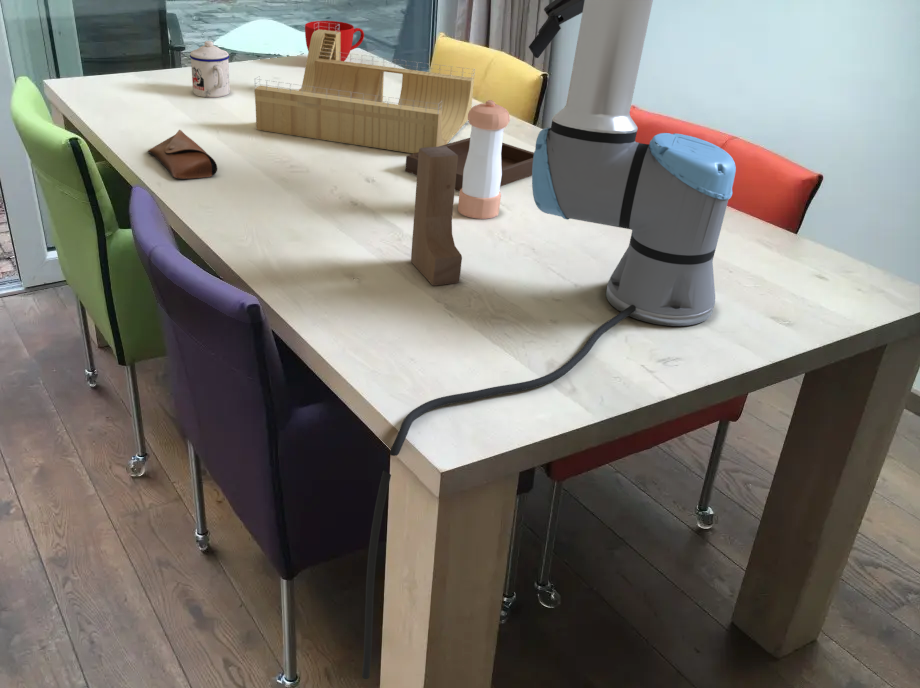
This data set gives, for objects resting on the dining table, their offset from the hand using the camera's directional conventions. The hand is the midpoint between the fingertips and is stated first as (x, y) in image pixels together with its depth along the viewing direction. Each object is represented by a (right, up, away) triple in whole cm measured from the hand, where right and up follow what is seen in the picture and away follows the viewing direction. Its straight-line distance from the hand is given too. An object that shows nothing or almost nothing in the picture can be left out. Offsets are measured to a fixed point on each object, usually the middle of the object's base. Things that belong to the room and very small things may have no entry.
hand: (560, 61), depth 152 cm
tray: (-12, -12, +25) cm, 30 cm away
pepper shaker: (-13, -24, +7) cm, 28 cm away
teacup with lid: (-70, +16, +62) cm, 95 cm away
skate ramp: (-32, +5, +50) cm, 60 cm away
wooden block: (-22, -38, -15) cm, 46 cm away
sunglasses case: (-68, -12, +21) cm, 73 cm away
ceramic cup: (-43, +35, +93) cm, 108 cm away
